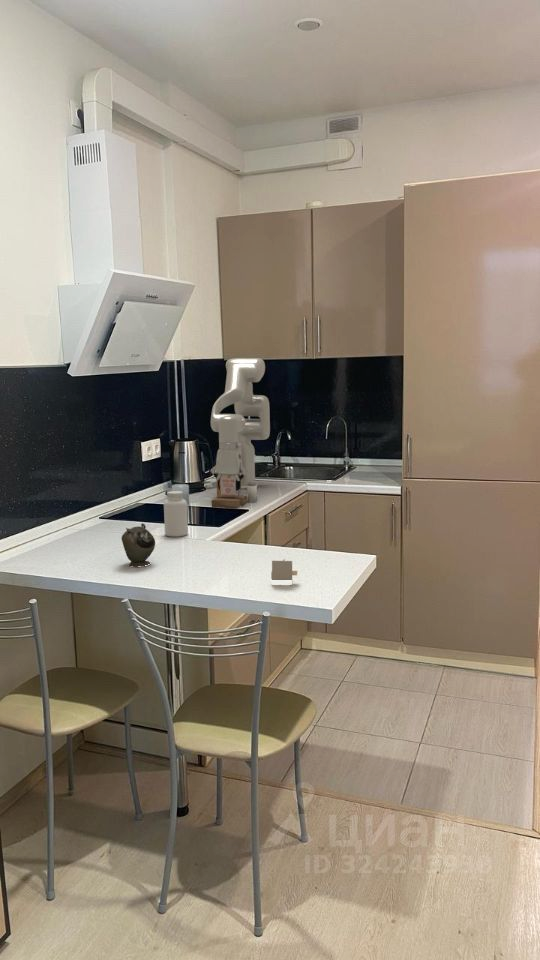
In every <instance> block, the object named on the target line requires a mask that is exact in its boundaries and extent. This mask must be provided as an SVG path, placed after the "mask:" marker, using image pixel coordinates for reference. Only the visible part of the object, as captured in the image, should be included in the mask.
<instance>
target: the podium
mask: <svg viewBox="0 0 540 960" xmlns="http://www.w3.org/2000/svg"><path fill="white" fill-rule="evenodd" d="M247 502H248V500H247V495H243V494H242V495H241V494H240V495H239V494H238V495H237V496H225V495H220V496H218V497H217V496H216V497H214V498H213V499H211V508H222V509H223V508H224V509H236V508H237V509H239V508H240V506H241V507H242V506H244V505H245V504H247Z"/></svg>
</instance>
